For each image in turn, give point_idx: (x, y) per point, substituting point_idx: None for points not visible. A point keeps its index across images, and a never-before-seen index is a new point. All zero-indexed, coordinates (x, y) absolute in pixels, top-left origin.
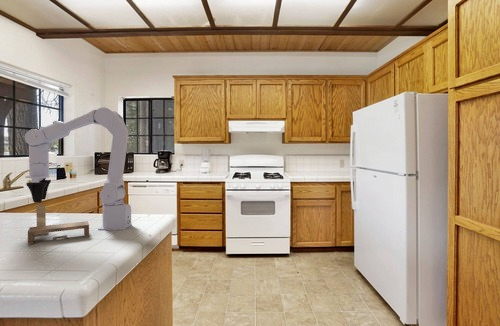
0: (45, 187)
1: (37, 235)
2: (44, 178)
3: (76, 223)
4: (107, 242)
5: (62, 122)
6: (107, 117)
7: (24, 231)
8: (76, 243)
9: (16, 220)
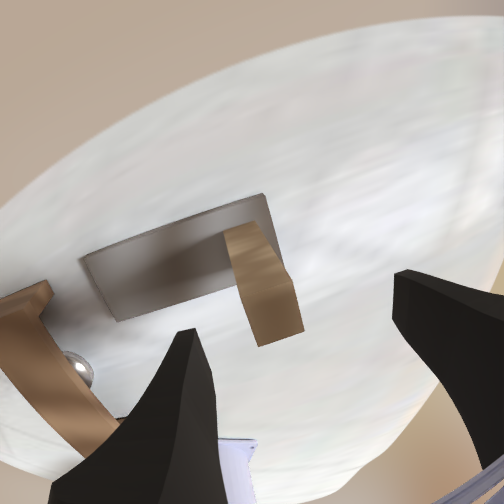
0: (462, 394)
1: (98, 284)
2: None
3: (102, 438)
4: (61, 455)
5: None
6: None
7: (225, 164)
8: None
9: (473, 55)
